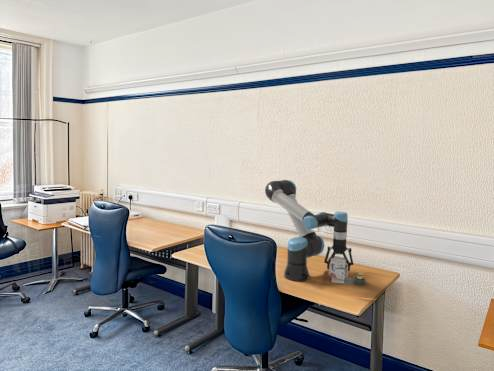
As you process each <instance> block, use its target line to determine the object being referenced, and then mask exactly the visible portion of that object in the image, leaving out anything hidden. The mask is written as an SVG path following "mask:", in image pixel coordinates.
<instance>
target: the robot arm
mask: <svg viewBox="0 0 494 371" xmlns="http://www.w3.org/2000/svg"><path fill="white" fill-rule="evenodd" d="M264 191H265V193H264V194H265V196H266V197H267V198H268V199H269V200H270V201H271V202H272V203H275V204H278V205H279V206H280V207H281V208H283V209H284V210H285V211H286V212H287V213H288V216H289V218H290V220H291V222H292V223H293V226H294V228H295V230H296V233H297V234H298V236H297V237H292V238H290V239H289V240H288V243H287V260H286V263H287V264H286V267H285V269H284V271H283V272H284V273H283V277H284V278H285V279H287V280H290V281H295V282H300V281H301V282H303V281H307V280H308V279H309V278H310V272H309V269H308V266H307V265H308V263H307V261H308V258H312V257H316V256H318V255H320V254H322V253H323V252H324V250H325V241H324V238H322V237H321V236H320V235H317V233H316V232H315V231H313V230H314V229H318V228H324V227H332V228H333V239H332V246H329V245H328V246H327V251H326V255H325V257H324V261H323V263H325V264H326V267H327V268H326V270H328V276H330V268H331V258H333V257H334V256H336V255H343V256H342V257H344V258H345V259H346V262H347V266H346V277H349V276H348V274H349V272H350V269H351V266H353V265H354V261H353V256H352V247H347V237H348V235H347V233H348V221H349V220H348V216H349V215H348V213H347V212H345V211H335V212H334V213H329V212H325V211H324V212H323V211H319V212H318V213H317V214H314V213H313V212H311V211H309V210H308V209H307V208H305V207H303V206H302V205H301V204H300V203H298V201H297V186H296V184H295V183H294V182H293V181H292V180H288V179H282V180H272V181H269V182H268V183H267V184H266V186H265V188H264ZM331 250H332V251H333V252H332V253H331V255H330V252H331ZM346 251H347V252H348V255H349V259H350V261H349V260H348V257H347V254H346V253H345V252H346ZM329 255H330V257H329Z"/></svg>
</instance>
